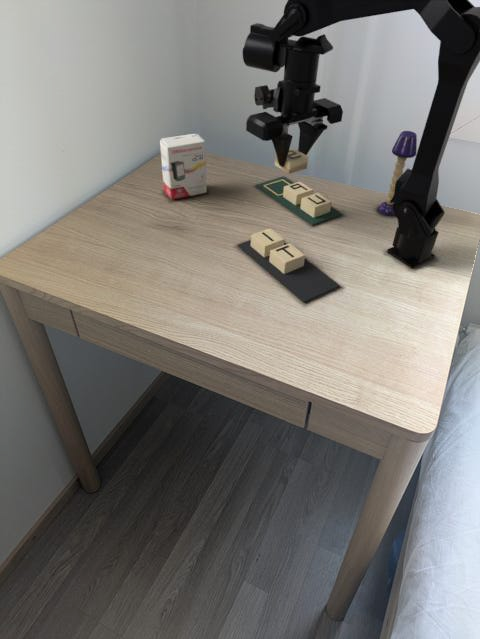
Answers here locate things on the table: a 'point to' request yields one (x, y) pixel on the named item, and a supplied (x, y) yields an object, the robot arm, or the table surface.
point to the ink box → (183, 165)
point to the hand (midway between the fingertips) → (291, 162)
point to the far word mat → (292, 207)
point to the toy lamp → (399, 165)
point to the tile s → (293, 161)
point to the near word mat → (297, 278)
